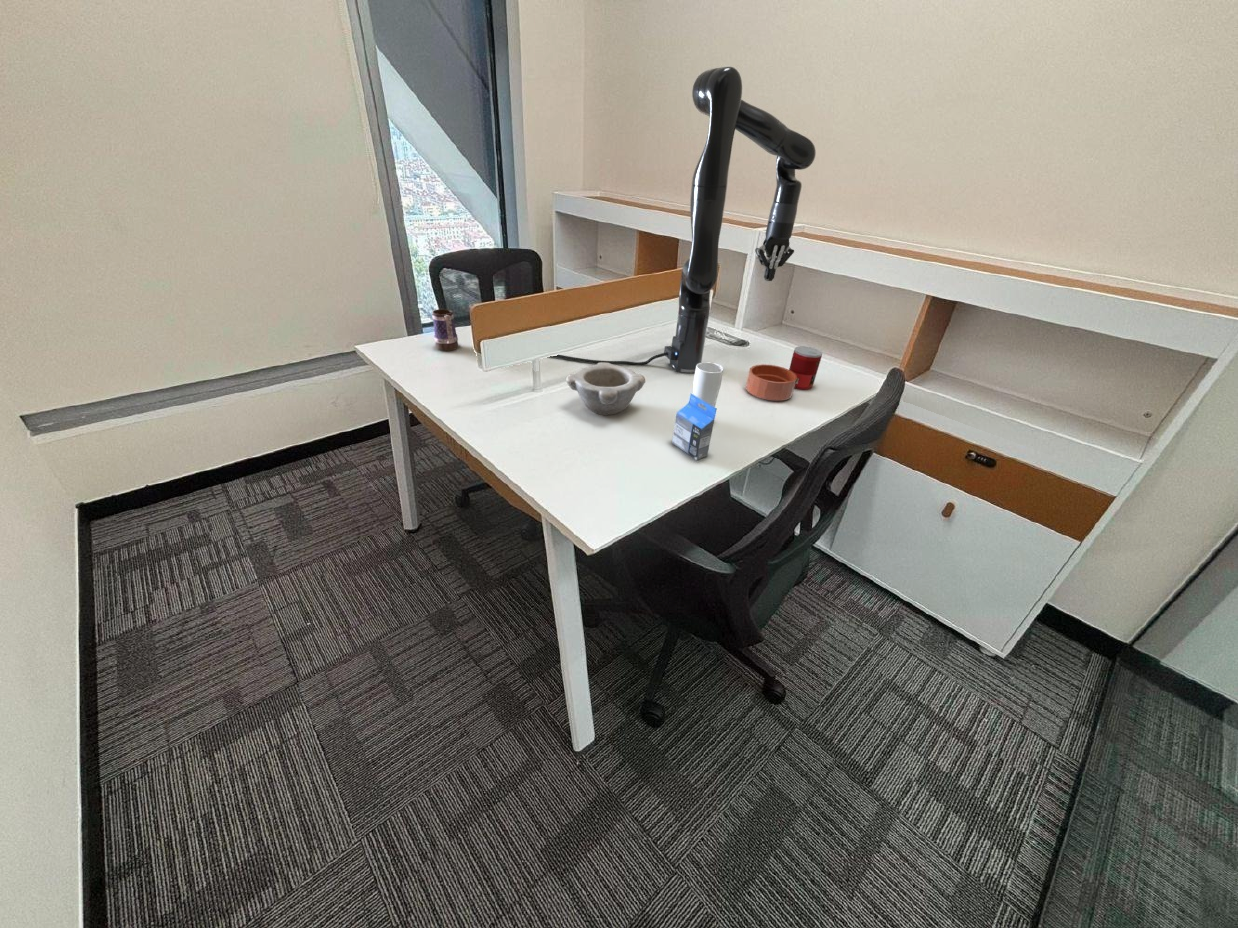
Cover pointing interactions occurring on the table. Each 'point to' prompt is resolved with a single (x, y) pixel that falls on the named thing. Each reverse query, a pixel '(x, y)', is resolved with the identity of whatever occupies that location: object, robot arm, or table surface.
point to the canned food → (805, 366)
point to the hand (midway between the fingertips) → (768, 280)
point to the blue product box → (694, 427)
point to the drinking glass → (707, 382)
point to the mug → (444, 330)
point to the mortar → (606, 387)
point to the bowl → (771, 382)
